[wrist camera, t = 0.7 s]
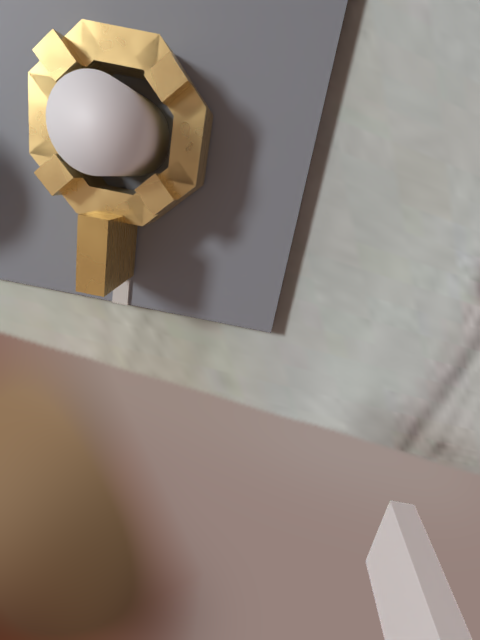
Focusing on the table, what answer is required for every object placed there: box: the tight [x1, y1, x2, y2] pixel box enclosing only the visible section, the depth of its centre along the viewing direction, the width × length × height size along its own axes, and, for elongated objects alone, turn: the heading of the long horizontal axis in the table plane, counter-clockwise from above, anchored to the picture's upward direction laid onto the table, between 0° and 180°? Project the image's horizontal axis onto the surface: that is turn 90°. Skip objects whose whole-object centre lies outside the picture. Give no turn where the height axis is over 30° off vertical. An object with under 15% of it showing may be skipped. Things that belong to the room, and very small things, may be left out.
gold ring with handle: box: [28, 19, 213, 297], centre depth 24 cm, size 15×10×6 cm
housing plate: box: [0, 0, 348, 333], centre depth 23 cm, size 24×24×8 cm
